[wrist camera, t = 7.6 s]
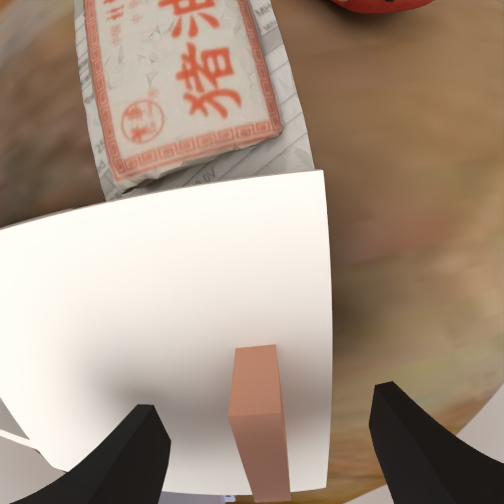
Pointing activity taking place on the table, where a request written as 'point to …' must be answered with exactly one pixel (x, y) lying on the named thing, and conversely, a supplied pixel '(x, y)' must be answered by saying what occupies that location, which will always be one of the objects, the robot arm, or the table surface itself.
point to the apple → (380, 5)
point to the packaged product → (186, 93)
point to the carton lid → (179, 330)
